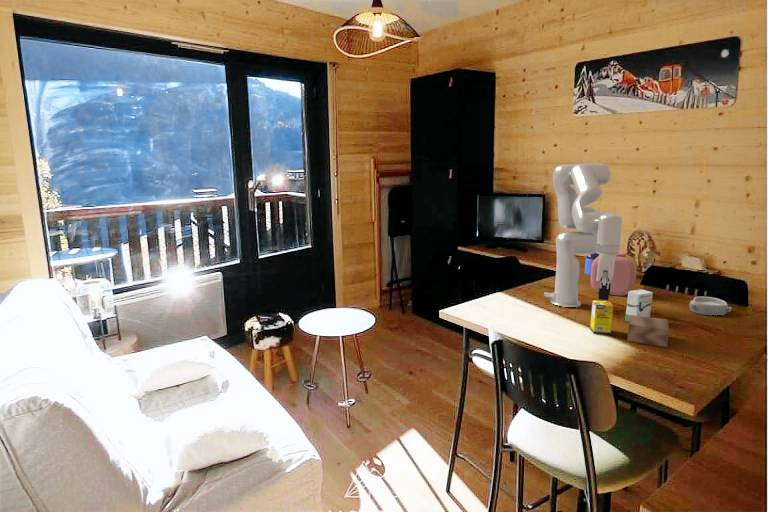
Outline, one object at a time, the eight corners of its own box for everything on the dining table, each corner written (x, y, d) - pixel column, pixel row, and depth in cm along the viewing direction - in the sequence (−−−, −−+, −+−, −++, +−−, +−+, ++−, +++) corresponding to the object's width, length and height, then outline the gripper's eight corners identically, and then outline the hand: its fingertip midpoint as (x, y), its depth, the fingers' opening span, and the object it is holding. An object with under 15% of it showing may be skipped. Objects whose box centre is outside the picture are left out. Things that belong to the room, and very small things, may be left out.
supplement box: (611, 334, 174) (613, 305, 172) (593, 333, 175) (595, 304, 173) (606, 329, 180) (609, 300, 178) (589, 328, 181) (592, 300, 179)
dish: (689, 314, 198) (691, 302, 197) (685, 305, 210) (687, 294, 210) (732, 319, 192) (734, 307, 191) (725, 309, 204) (727, 298, 203)
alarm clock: (634, 293, 230) (638, 252, 226) (632, 298, 221) (636, 256, 217) (592, 287, 240) (596, 249, 236) (588, 292, 230) (592, 252, 227)
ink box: (635, 324, 185) (639, 294, 183) (624, 320, 190) (627, 291, 187) (650, 321, 189) (653, 291, 187) (638, 317, 194) (641, 288, 191)
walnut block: (627, 340, 168) (628, 324, 167) (628, 330, 179) (629, 314, 177) (667, 346, 163) (669, 329, 162) (665, 335, 173) (667, 319, 172)
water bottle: (586, 275, 264) (590, 230, 260) (582, 272, 274) (586, 228, 269) (604, 276, 263) (608, 230, 258) (599, 272, 272) (603, 228, 267)
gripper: (598, 245, 181) (594, 290, 184) (594, 252, 166) (590, 300, 168) (620, 247, 177) (616, 292, 180) (618, 253, 162) (614, 303, 165)
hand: (604, 296), depth 174 cm, fingers open, 9 cm apart
